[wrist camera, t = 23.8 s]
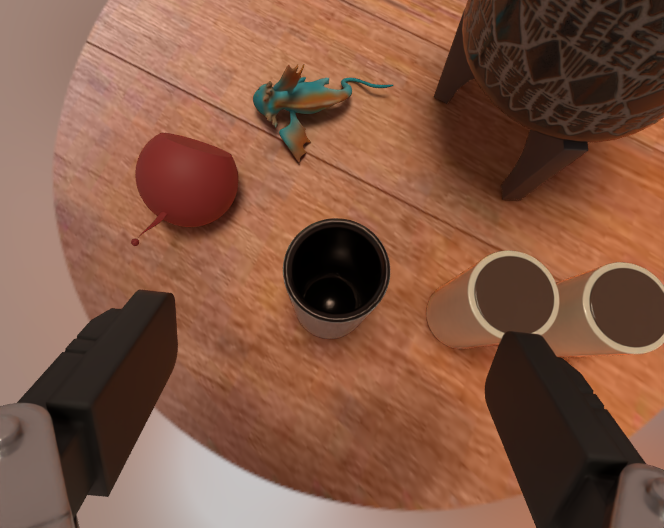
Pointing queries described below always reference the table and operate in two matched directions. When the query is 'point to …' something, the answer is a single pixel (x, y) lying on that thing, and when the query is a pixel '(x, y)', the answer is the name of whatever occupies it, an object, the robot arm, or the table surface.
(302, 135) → the dragon figurine
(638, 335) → the pot
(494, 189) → the table surface
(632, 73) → the planter
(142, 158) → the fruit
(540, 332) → the pot
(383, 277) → the grey cylindrical cup
